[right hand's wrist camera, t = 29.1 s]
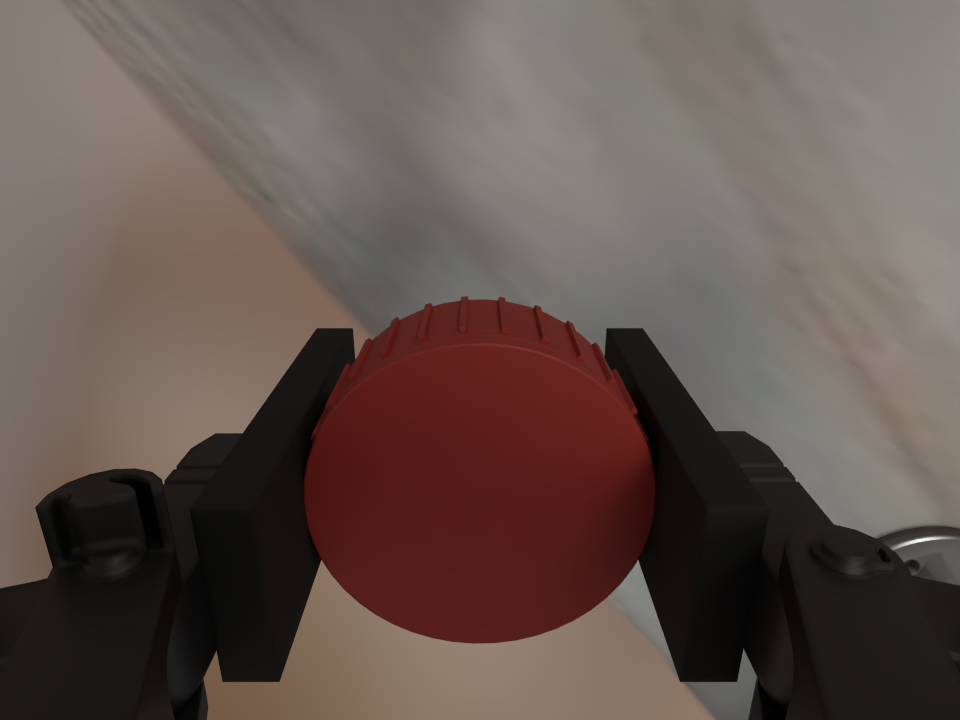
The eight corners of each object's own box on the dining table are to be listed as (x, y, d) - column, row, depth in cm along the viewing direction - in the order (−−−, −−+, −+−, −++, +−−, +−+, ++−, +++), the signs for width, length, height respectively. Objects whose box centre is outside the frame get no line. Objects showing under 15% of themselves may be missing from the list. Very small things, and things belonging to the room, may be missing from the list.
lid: (457, 226, 11) (452, 256, 9) (694, 422, 12) (738, 488, 10) (269, 456, 12) (227, 527, 10) (497, 607, 13) (500, 697, 11)
